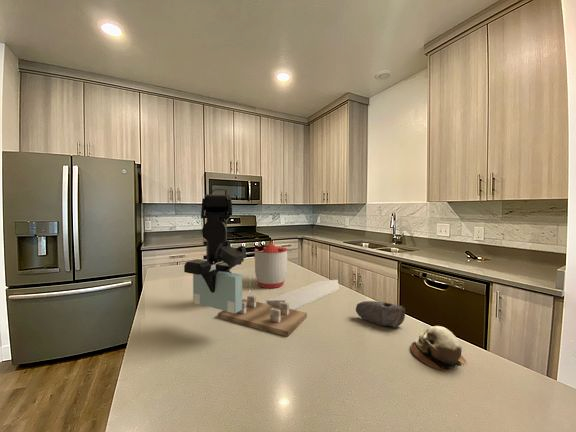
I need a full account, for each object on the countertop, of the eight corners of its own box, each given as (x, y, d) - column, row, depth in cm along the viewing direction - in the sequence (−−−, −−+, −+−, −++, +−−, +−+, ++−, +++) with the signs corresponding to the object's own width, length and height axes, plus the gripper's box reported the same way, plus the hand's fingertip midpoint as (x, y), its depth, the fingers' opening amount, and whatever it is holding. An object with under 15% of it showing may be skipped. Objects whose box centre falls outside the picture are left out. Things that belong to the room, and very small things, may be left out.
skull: (396, 344, 65) (417, 312, 67) (419, 364, 67) (437, 333, 69) (438, 371, 53) (460, 331, 55) (463, 395, 56) (483, 356, 58)
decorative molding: (268, 313, 91) (287, 314, 85) (266, 300, 92) (284, 300, 85) (321, 291, 116) (339, 290, 109) (319, 280, 117) (337, 279, 110)
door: (193, 302, 74) (192, 270, 74) (201, 299, 77) (200, 267, 77) (235, 313, 67) (235, 277, 67) (242, 309, 70) (242, 274, 69)
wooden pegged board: (218, 317, 81) (218, 302, 81) (243, 302, 94) (243, 290, 94) (288, 336, 70) (288, 319, 69) (306, 317, 82) (307, 302, 82)
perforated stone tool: (352, 319, 81) (353, 298, 80) (358, 314, 85) (358, 294, 85) (402, 333, 72) (402, 310, 72) (405, 326, 76) (406, 304, 76)
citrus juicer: (266, 277, 128) (266, 239, 127) (293, 283, 118) (294, 242, 117) (244, 285, 115) (244, 242, 115) (273, 292, 105) (273, 246, 104)
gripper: (214, 243, 59) (214, 307, 60) (257, 236, 76) (257, 285, 77) (182, 240, 64) (183, 299, 65) (229, 234, 81) (229, 280, 82)
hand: (216, 290), depth 72 cm, fingers closed on door, 3 cm apart
